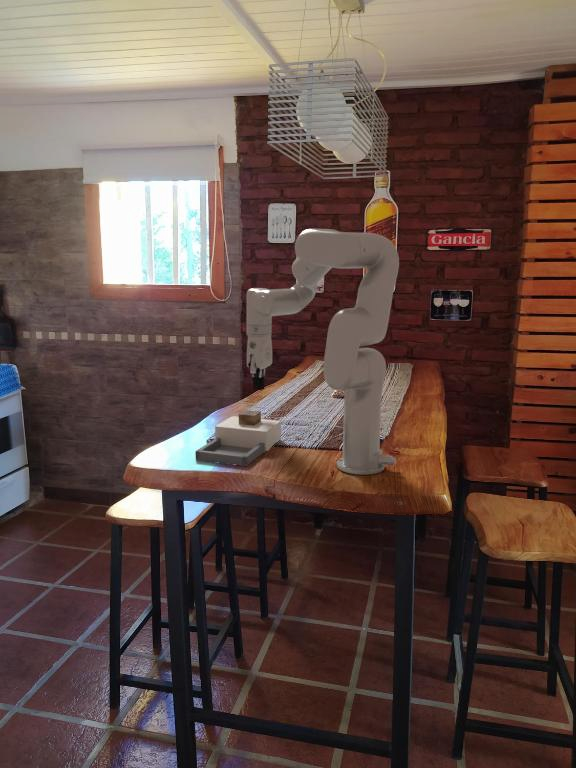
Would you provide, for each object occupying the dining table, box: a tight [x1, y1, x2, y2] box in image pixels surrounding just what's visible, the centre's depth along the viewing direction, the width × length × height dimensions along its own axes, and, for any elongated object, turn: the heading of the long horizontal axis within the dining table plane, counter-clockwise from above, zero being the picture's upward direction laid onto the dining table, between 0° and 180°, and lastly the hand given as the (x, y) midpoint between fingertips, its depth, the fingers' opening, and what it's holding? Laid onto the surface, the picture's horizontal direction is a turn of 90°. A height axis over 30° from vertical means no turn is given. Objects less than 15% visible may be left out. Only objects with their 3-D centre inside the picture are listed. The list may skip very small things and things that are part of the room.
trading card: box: [299, 423, 343, 437], centre depth 189 cm, size 11×1×18 cm
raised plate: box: [214, 415, 282, 453], centre depth 178 cm, size 16×12×6 cm
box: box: [195, 438, 266, 467], centre depth 167 cm, size 15×13×3 cm
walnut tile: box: [238, 410, 262, 426], centre depth 178 cm, size 5×5×3 cm
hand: (258, 389), depth 185 cm, fingers closed
